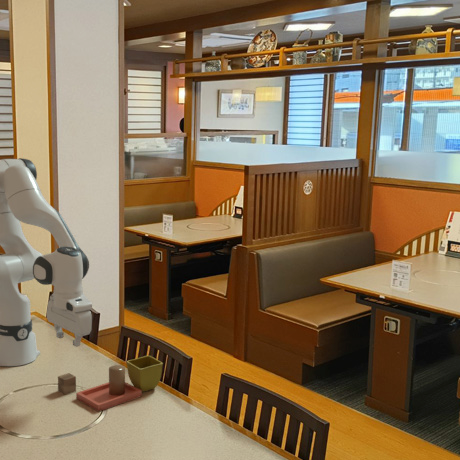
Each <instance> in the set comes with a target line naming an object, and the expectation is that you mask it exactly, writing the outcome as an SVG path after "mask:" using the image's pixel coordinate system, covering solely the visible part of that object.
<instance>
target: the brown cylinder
mask: <svg viewBox="0 0 460 460" xmlns="http://www.w3.org/2000/svg"><path fill="white" fill-rule="evenodd" d="M108 382H109V394H110V395H113V396H119V395H123V394H124V393H125V382H126V367H125V366H124V365H120V364H117V365H115V364H114V365H112V366H109V367H108Z"/></svg>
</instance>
